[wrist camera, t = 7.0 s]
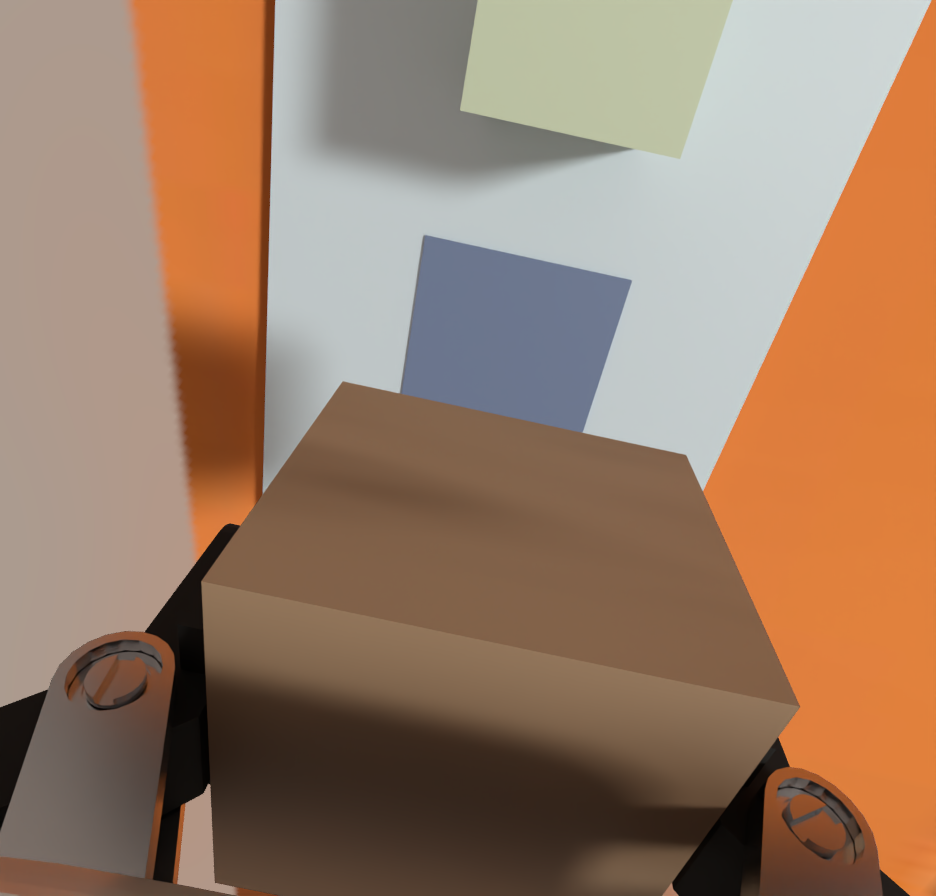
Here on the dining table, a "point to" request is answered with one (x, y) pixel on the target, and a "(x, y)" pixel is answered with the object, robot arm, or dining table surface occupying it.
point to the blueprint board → (551, 223)
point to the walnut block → (477, 663)
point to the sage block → (595, 67)
